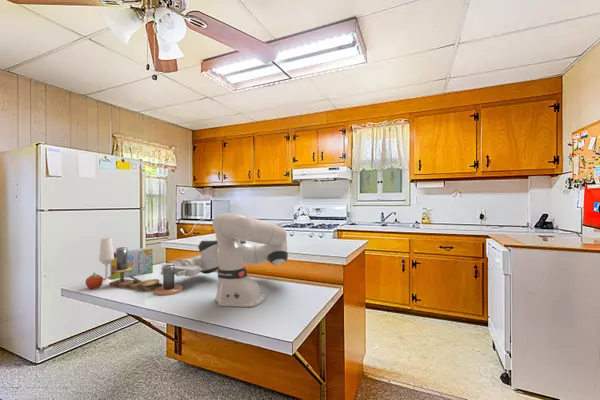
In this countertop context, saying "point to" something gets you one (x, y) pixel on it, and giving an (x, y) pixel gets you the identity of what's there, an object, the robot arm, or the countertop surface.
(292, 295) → the countertop surface
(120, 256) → the cylinder
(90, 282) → the tomato
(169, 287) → the brushed steel peg
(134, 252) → the snack box
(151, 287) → the balance
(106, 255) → the champagne flute
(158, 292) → the dish
